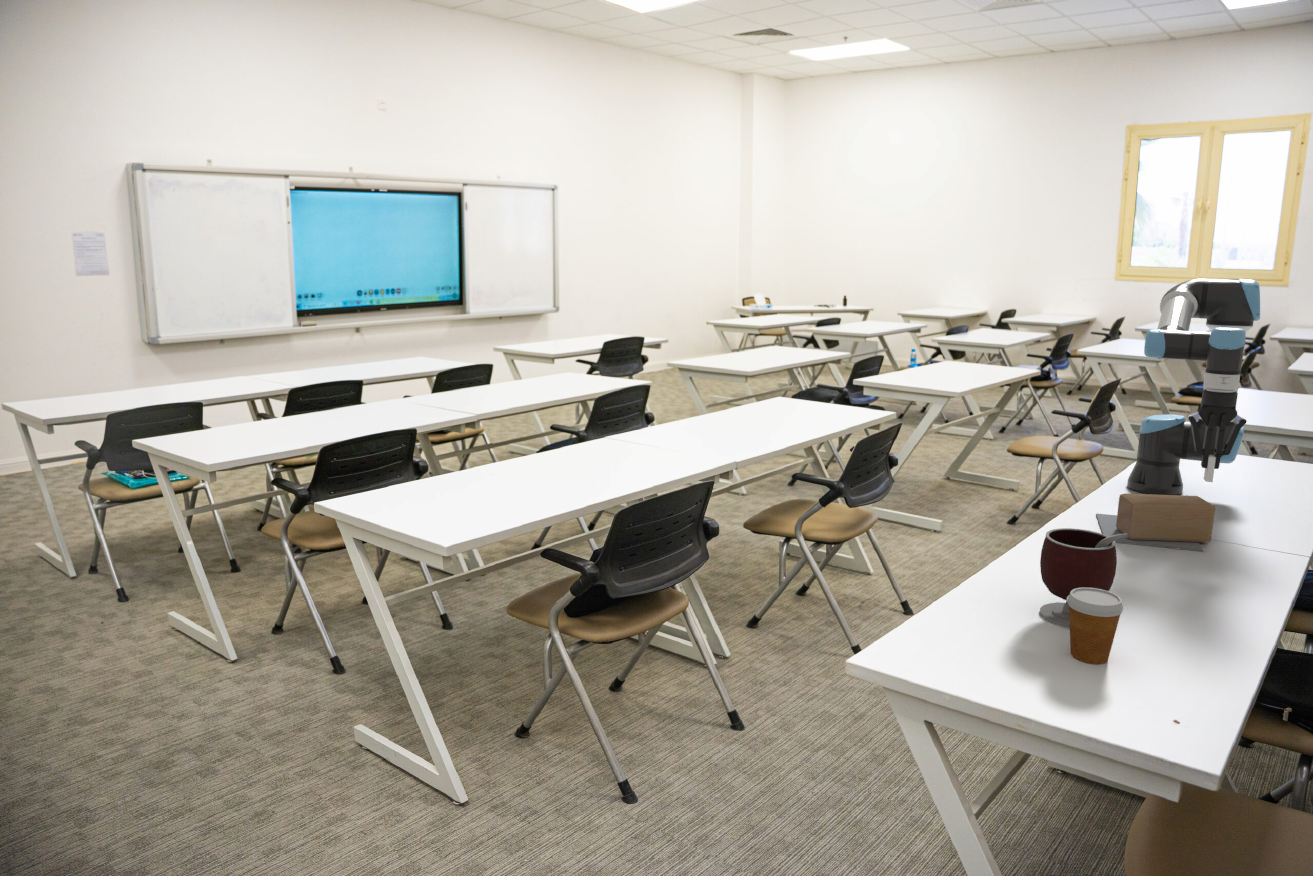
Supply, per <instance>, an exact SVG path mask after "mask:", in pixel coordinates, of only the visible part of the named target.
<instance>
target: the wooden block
mask: <svg viewBox="0 0 1313 876" xmlns="http://www.w3.org/2000/svg"><path fill="white" fill-rule="evenodd" d="M1215 512H1216V508H1215V505H1213V504H1212V503H1210V502H1209V501H1207V500H1205V499H1204V498H1202V497H1201V496H1198V495H1181V494H1178V495H1155V494H1148V493H1143V494H1142V493H1121V494H1119V497H1118V506H1117V522H1116V527H1117V529H1118V530H1119V531H1120V532H1122V533H1123V534H1125V533H1127V534H1128V538H1129V539H1131V540H1157V541H1183V542H1199V543H1210V542H1211V540H1212V535H1213V528H1214V520H1215V514H1216V513H1215Z"/></svg>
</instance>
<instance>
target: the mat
mask: <svg viewBox="0 0 1313 876" xmlns="http://www.w3.org/2000/svg"><path fill="white" fill-rule="evenodd" d="M1095 517H1096V519H1097V522H1098V524H1099V528H1100V531H1101V534H1104V535H1107V536H1113V535H1118V534H1123V533H1122V532H1120V531H1119V530H1118V529H1117V527H1116V522H1117V515H1115V514H1107V513H1097V512H1096V513H1095ZM1115 542H1117V544H1126V545H1127V544H1129V545H1135V544H1136V545H1137V546H1145V545H1147V547H1153V548H1154V547H1157V548H1165V549H1167V548H1168V549H1175V550H1183V549H1187V550H1186V551H1193V550H1197V552H1204V547H1202V545H1201V544H1200V542H1183V541H1157V540H1131V539H1129V538H1125V537H1123V538H1120V539H1117V540H1115Z"/></svg>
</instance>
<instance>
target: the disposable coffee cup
mask: <svg viewBox="0 0 1313 876" xmlns="http://www.w3.org/2000/svg"><path fill="white" fill-rule="evenodd" d="M1067 602H1068V605H1069V622H1070V628H1069V642H1070V643H1069V645H1070V647H1069V649H1070V655H1071V657H1073V658H1074V659H1076V660H1077V661H1079V662H1082V663H1086V664H1091V665H1102V664H1106V663H1107V662H1108V661H1109V657H1110V654H1111V650H1112V647H1113V644H1114V640H1115V636H1116V632H1117V629H1118V625H1119V620H1120V618H1121V615H1122V613H1123V612H1124V610H1125V605H1124V604H1123V599H1122V597H1121V596H1119V595H1118V594H1117V593H1114V592H1111V591H1110V590H1109V591H1106V590H1102V589H1097V588H1085V587H1083V588H1076V589H1073V590H1071V592H1070V595H1069V596H1068V597H1067Z"/></svg>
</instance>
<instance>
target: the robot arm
mask: <svg viewBox="0 0 1313 876" xmlns="http://www.w3.org/2000/svg"><path fill="white" fill-rule="evenodd" d="M1159 312H1160V318H1159V320H1158V321H1159V322H1158V325H1157V328H1156V329H1149V330H1148V331H1146V335H1145V338H1144V339H1145V341H1144V350H1143V351H1144V352H1143V354H1144V356H1146V357H1147V358H1151V359H1152V358H1154V359H1159V360H1161V359H1164V360H1165V359H1166V360H1167V359H1168V360H1187V361H1201V362H1202V361H1203V362H1206V366H1205V371H1204V378H1203V386H1202V387H1203V390H1202V394H1201V401H1200V406H1199V408H1198V409H1197V412H1194V413H1192V414H1188V415H1187V416H1186V417H1185V415H1182V414H1174V413H1173V414H1156V415H1150V416H1149V415H1148V416H1146V417H1144V418H1143V419H1142V420H1141V422H1140V428H1139V432H1138V434H1139V435H1138V436H1139V438H1138V444H1137V445H1138V446H1137V453H1136V460H1135V461H1136V462H1135V464H1134V466H1133V467H1132V470H1131V472H1130V474H1129V476H1128V478H1127V483H1126V486H1127V488H1128V489H1130V490H1133V491H1135V492H1139V493H1143V494H1152V495H1181V494H1183V492H1184V491H1183V489H1184V483H1183V478H1182V473H1181V471H1180V462H1181V460H1188V461H1197V462H1198V461H1199V462H1201V463H1200V465H1201V468H1202V469H1204V474H1203V480H1204V481H1205V482H1207V483H1213V481H1214V480H1213V479H1214V474H1215V470H1218V469H1219V468H1220V465H1221V464H1231V463H1233V462H1235V461H1236V459H1237V456H1238V453H1239V451H1240V447H1241V443H1242V440H1243V436H1244V433H1245V432H1244V431H1245V425H1246V424H1247V422H1248V421H1247V419H1245V418H1244V417H1242V416H1240V415H1239V414H1238V410H1237V401H1238V394H1239V393H1238V391H1239V389H1240V388H1239V387H1240V380H1241V379H1240V378H1241V373H1242V371H1241V370H1242V364H1243V359H1244V353H1245V346H1246V340H1247V339H1246V337H1247V336H1246V334H1247V332H1248V331H1249V330H1250V329H1252V328H1253V327H1254V322H1256V321H1257V322H1258V321H1260V320H1261V287H1260V283H1259V282H1258V281H1257V280H1255V279H1248V278H1245V279H1244V278H1204V277H1203V278H1201V277H1200V278H1193V279H1188V280H1186V281H1185V280H1184V281H1183V282H1181V283H1178V284H1176V285H1175V286H1173V287H1172V288H1170V289H1169V290H1167V291H1166V292H1165V294H1163V296H1162V298H1161V299H1160V303H1159ZM1192 319H1204V320H1205V319H1206V320H1205V321H1206V323H1205V326H1206V327H1207V328H1208V329H1209V330H1210V331H1195V330H1194V331H1192V330H1190V326H1191V321H1192ZM1186 418H1187V420H1188V421H1187V420H1186Z"/></svg>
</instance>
